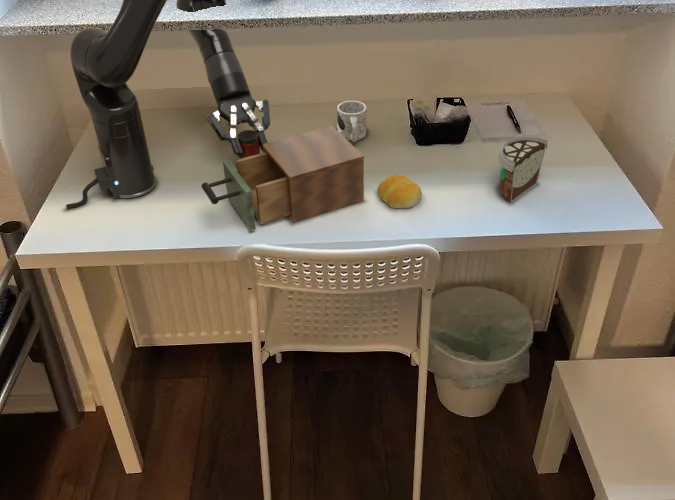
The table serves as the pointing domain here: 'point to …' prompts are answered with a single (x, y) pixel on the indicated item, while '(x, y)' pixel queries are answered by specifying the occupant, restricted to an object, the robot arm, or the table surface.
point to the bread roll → (399, 191)
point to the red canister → (249, 143)
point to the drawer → (254, 189)
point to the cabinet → (319, 171)
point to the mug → (351, 120)
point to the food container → (520, 165)
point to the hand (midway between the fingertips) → (252, 152)
